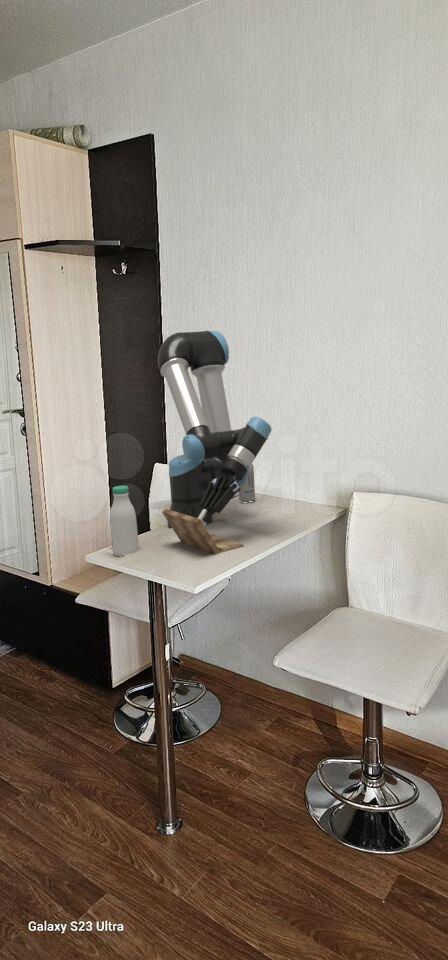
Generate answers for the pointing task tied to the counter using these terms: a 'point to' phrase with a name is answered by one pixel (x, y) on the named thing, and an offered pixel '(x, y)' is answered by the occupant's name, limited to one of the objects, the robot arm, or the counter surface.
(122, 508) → the milk bottle
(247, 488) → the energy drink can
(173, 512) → the board
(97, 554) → the counter surface
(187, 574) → the counter surface
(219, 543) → the laid floorboards
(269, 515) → the counter surface
